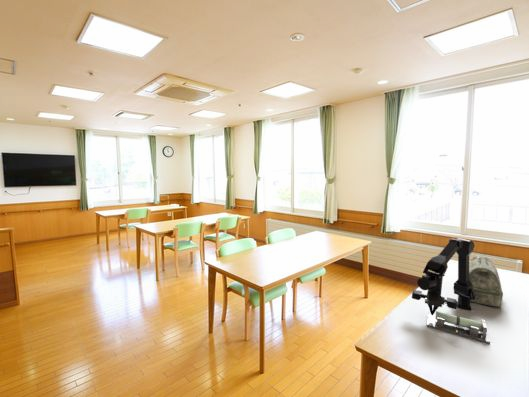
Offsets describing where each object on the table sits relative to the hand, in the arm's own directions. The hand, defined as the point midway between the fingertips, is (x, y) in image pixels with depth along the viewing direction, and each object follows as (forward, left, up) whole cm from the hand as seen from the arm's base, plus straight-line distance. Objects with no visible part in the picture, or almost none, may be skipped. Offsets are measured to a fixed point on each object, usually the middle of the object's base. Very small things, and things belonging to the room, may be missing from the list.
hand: (432, 314), depth 136 cm
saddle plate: (0, +10, -4) cm, 11 cm away
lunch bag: (-47, +23, -4) cm, 53 cm away
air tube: (0, +11, 0) cm, 11 cm away
